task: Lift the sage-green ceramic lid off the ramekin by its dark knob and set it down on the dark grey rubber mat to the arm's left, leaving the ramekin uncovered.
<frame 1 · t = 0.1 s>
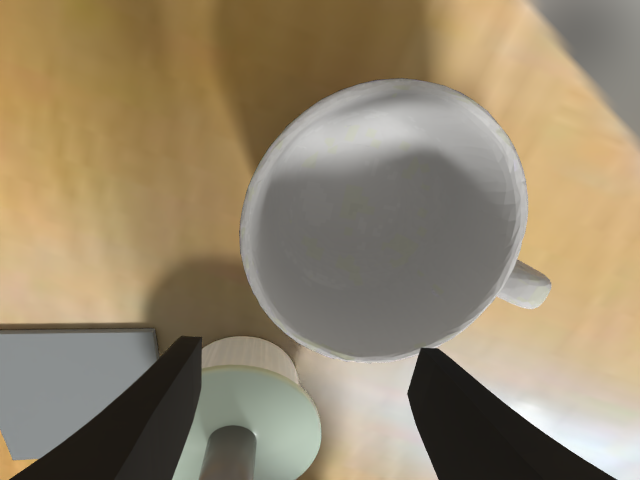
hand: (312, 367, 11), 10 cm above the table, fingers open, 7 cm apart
lid: (234, 433, 19), point 4 cm above the table, touching ramekin
ramekin: (243, 376, 24), on the table, touching lid
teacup: (371, 206, 20), on the table
mat: (81, 395, 22), on the table
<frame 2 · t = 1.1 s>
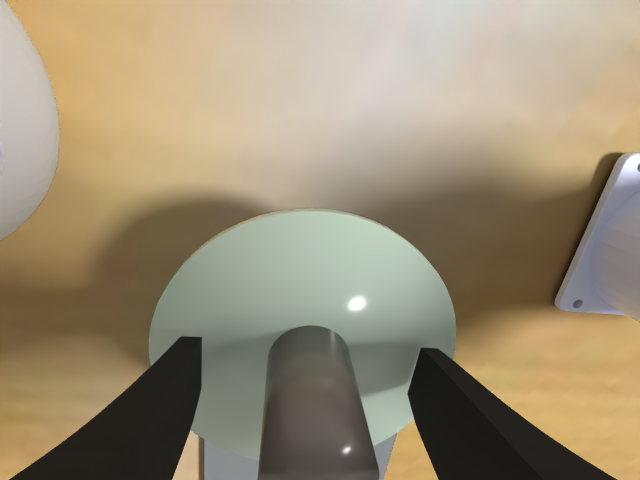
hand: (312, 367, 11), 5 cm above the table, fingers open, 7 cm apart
lid: (307, 347, 12), point 4 cm above the table, touching ramekin
mat: (300, 449, 19), on the table
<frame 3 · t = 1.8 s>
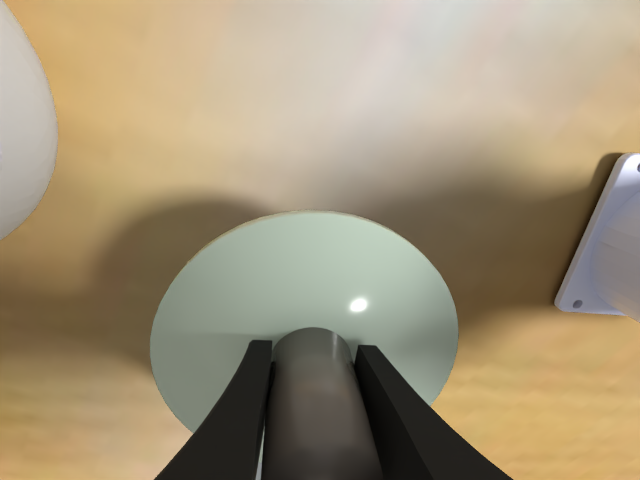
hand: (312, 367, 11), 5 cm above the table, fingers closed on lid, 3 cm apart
lid: (309, 349, 12), point 4 cm above the table, touching gripper, ramekin
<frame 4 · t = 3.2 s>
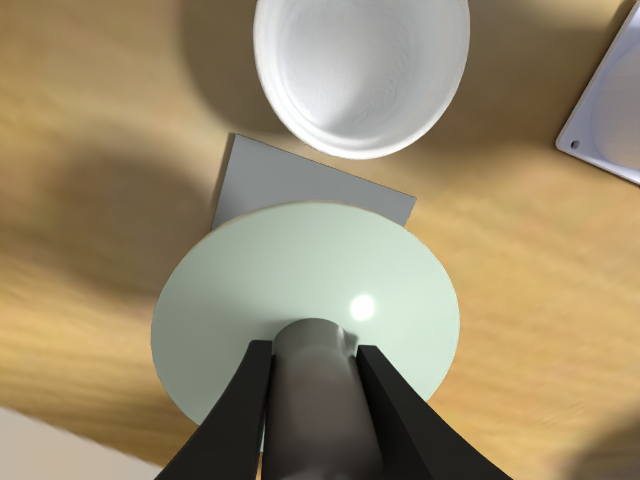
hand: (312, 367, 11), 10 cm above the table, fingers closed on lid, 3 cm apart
lid: (310, 340, 12), point 9 cm above the table, touching gripper
ramekin: (346, 63, 17), on the table
mat: (300, 250, 20), on the table
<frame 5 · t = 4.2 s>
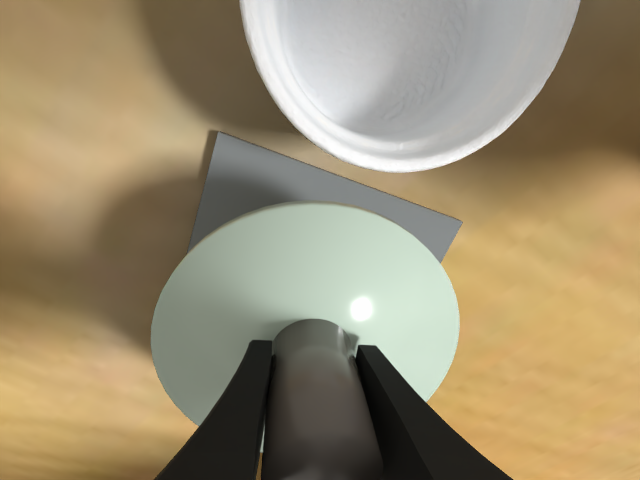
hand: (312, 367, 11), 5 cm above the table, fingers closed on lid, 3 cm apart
lid: (310, 340, 12), point 4 cm above the table, touching gripper
ramekin: (374, 34, 12), on the table
mat: (305, 287, 15), on the table
when the fingers open (3 cm above the table, at t = 4.9 s): lid drops 1 cm, resting on mat.
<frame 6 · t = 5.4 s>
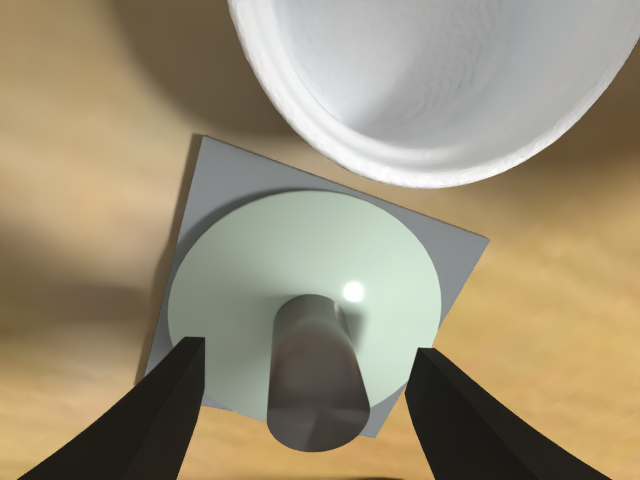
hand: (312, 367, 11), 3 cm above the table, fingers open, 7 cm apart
lid: (308, 316, 13), resting on mat
ramekin: (390, 19, 10), on the table
mat: (307, 314, 13), on the table
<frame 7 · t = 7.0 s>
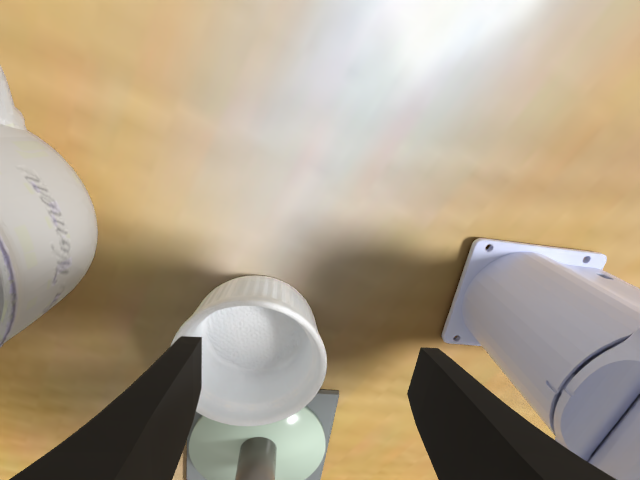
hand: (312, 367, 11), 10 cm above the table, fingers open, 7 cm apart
lid: (259, 442, 26), resting on mat
ramekin: (257, 322, 22), on the table
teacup: (34, 180, 18), on the table
mat: (259, 439, 26), on the table
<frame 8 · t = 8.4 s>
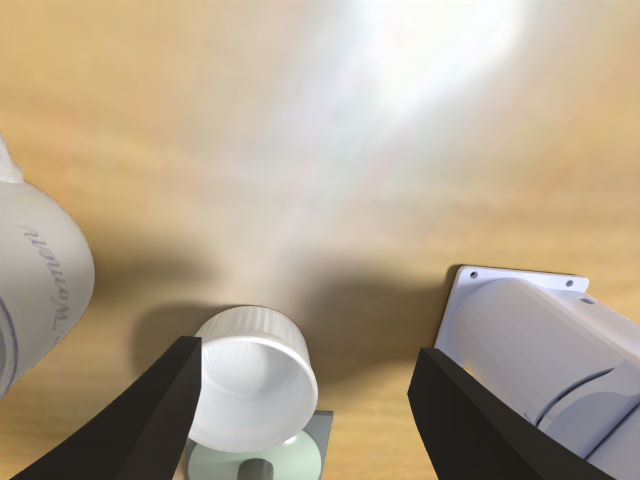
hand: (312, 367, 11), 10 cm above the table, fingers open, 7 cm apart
lid: (256, 462, 26), resting on mat
ramekin: (251, 349, 23), on the table
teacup: (34, 222, 19), on the table
mat: (257, 459, 27), on the table
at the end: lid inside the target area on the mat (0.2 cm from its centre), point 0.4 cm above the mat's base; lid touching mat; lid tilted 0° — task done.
